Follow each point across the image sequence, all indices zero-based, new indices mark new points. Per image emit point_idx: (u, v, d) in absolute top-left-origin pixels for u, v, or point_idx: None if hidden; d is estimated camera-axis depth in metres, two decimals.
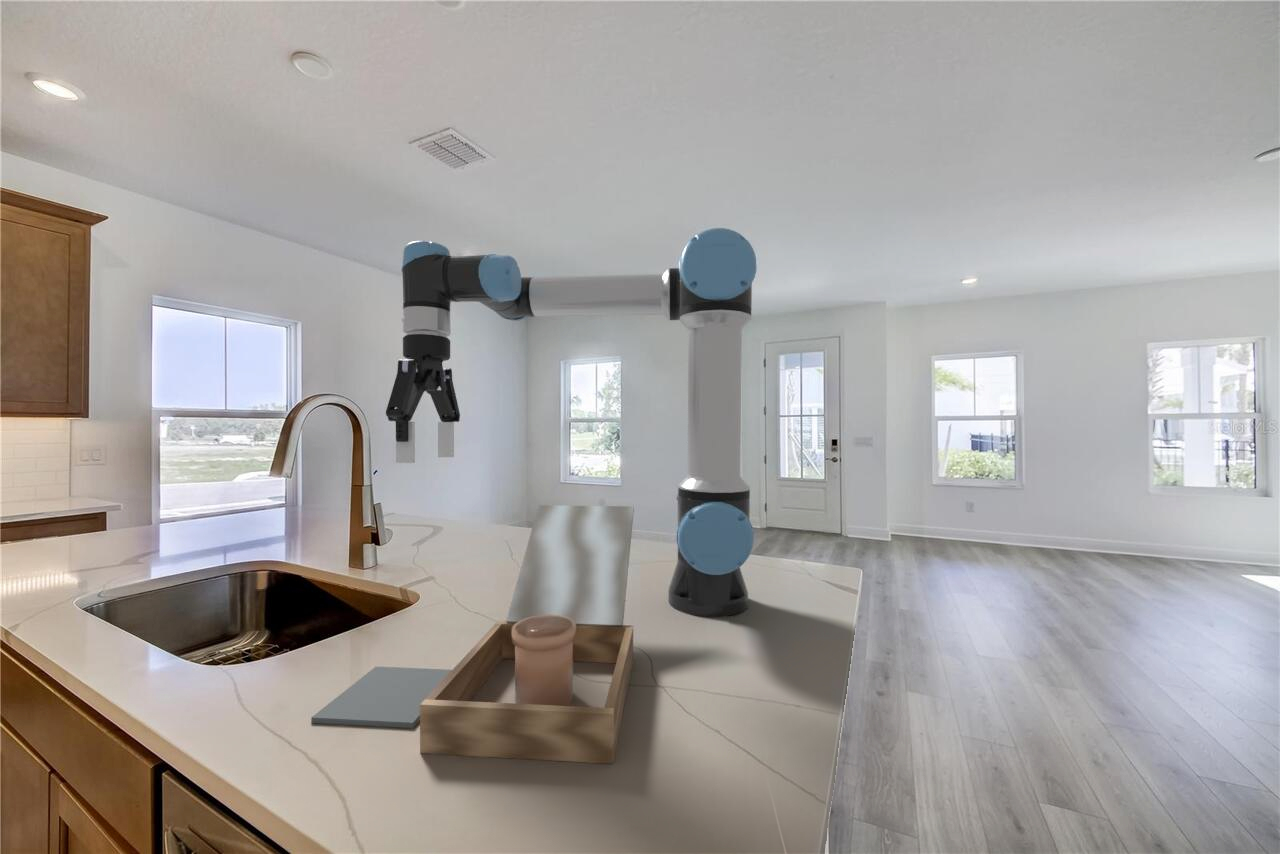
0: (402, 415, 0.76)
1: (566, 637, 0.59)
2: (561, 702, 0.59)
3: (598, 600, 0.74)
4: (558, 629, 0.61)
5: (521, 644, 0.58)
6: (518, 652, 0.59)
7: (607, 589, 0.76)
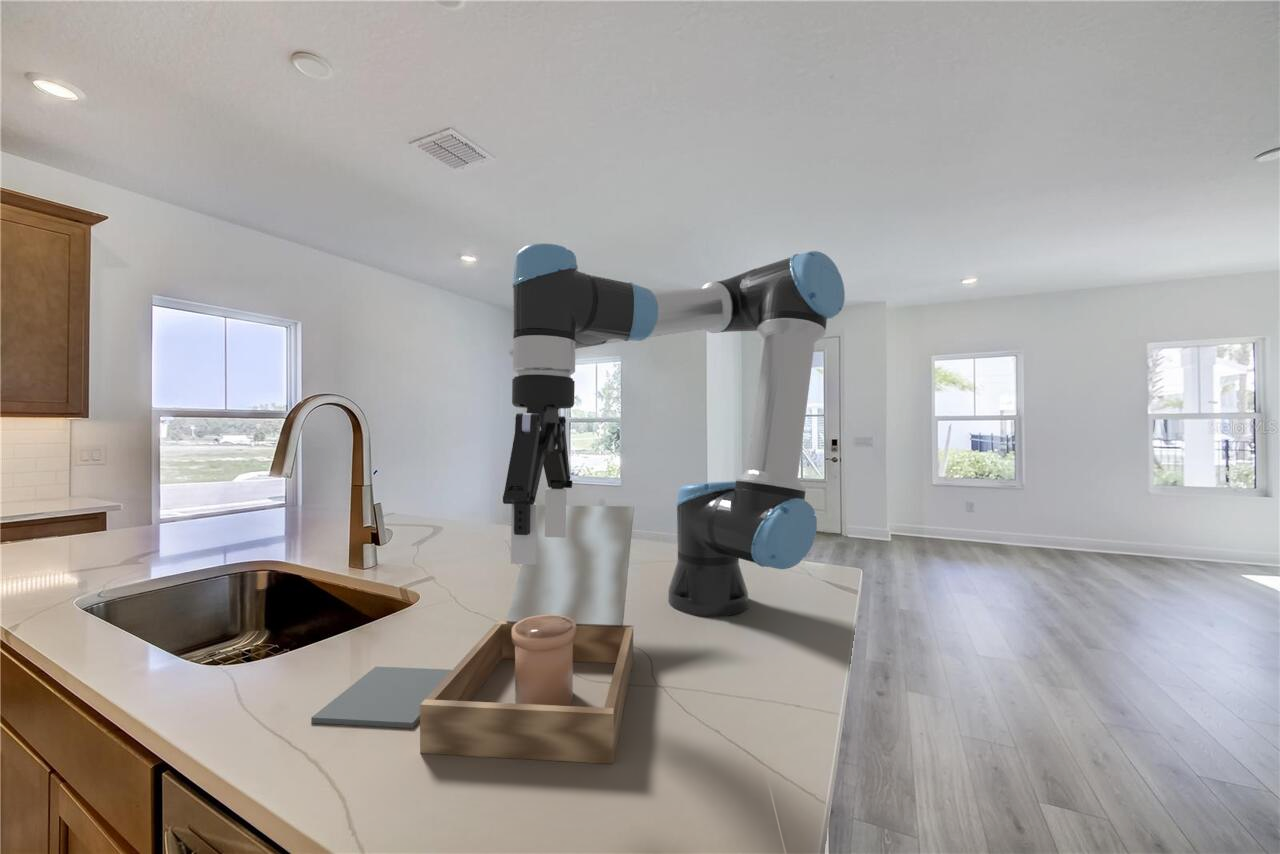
0: (527, 499, 0.52)
1: (566, 637, 0.59)
2: (561, 702, 0.59)
3: (598, 600, 0.74)
4: (558, 629, 0.61)
5: (521, 644, 0.58)
6: (518, 652, 0.59)
7: (607, 589, 0.76)
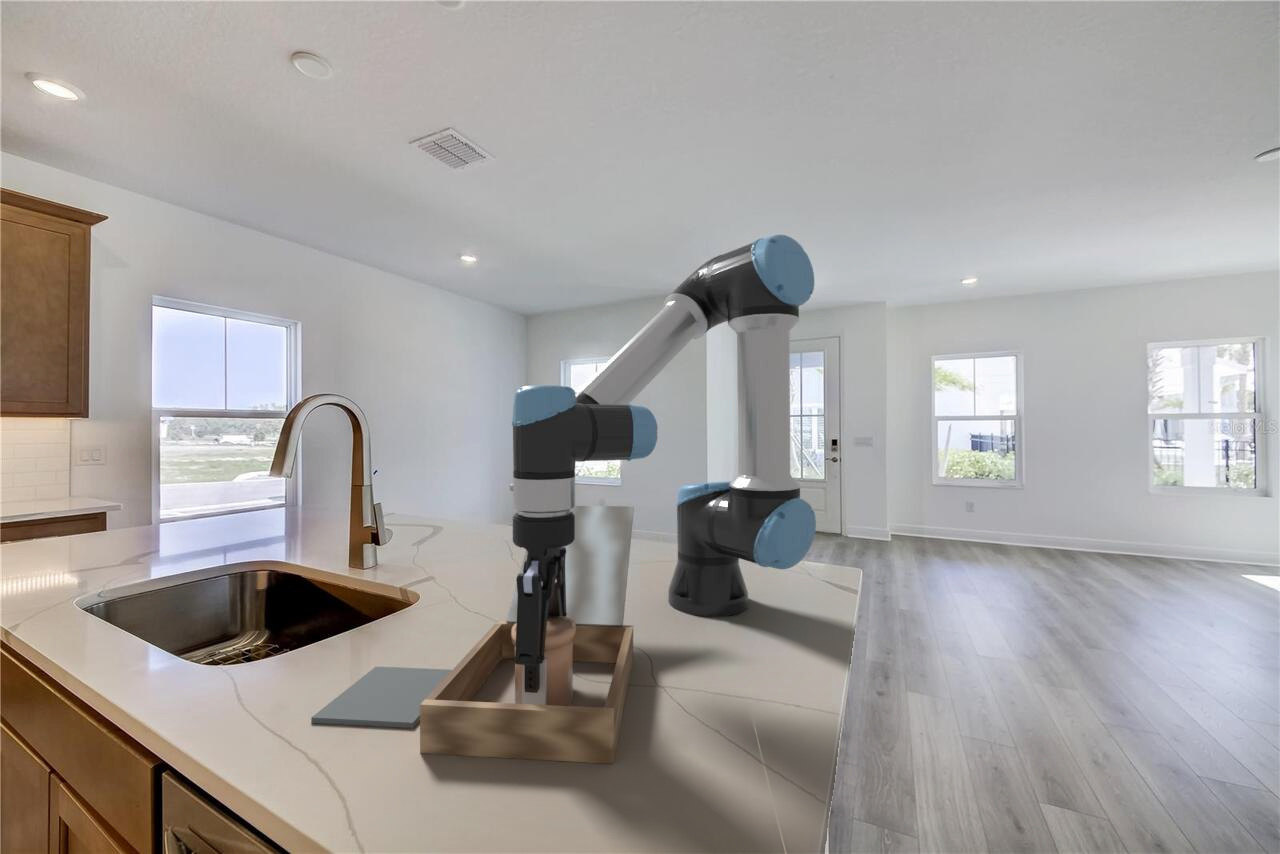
0: (538, 663, 0.55)
1: (566, 637, 0.59)
2: (561, 703, 0.59)
3: (598, 600, 0.74)
4: (558, 629, 0.61)
5: None
6: None
7: (607, 589, 0.76)
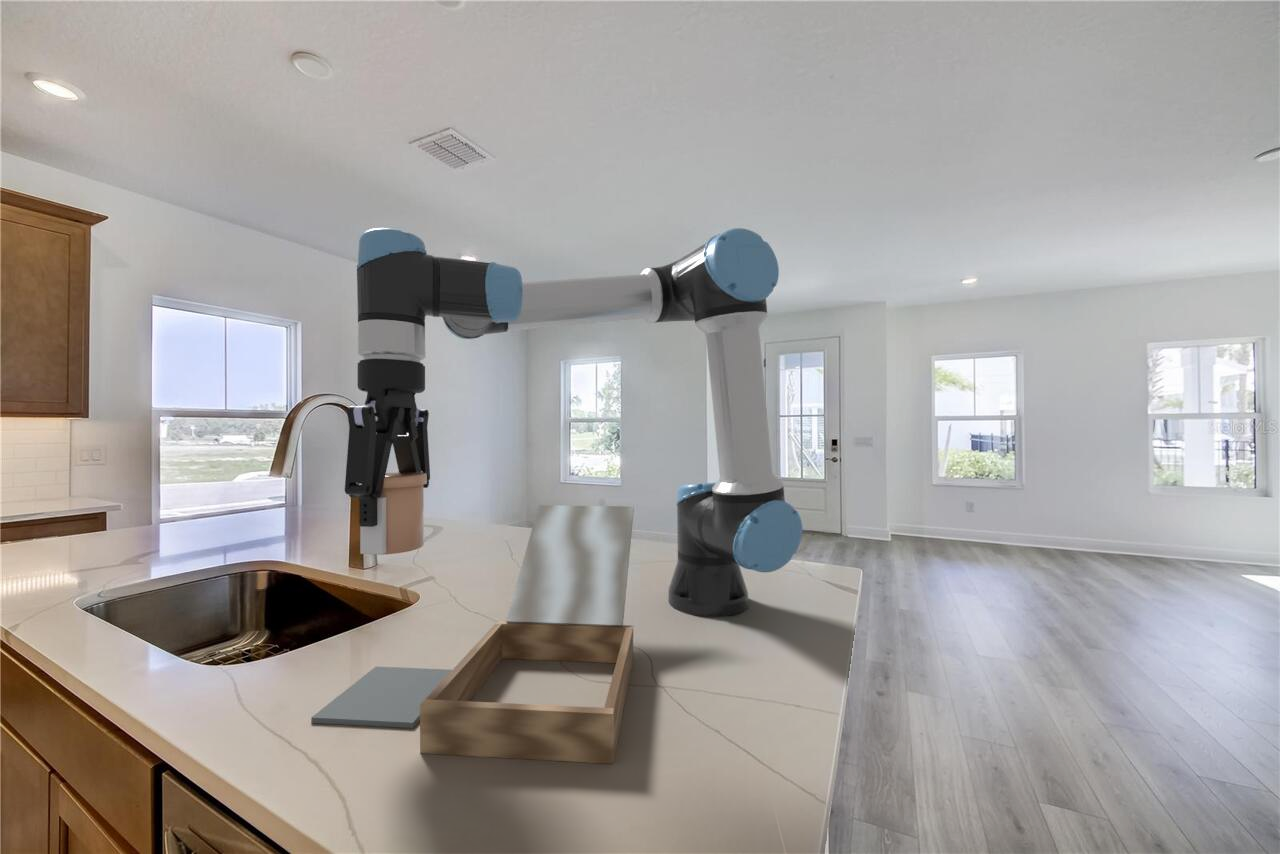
0: (368, 493, 0.55)
1: (408, 479, 0.60)
2: (403, 544, 0.60)
3: (598, 600, 0.74)
4: (404, 475, 0.61)
5: None
6: None
7: (607, 589, 0.76)
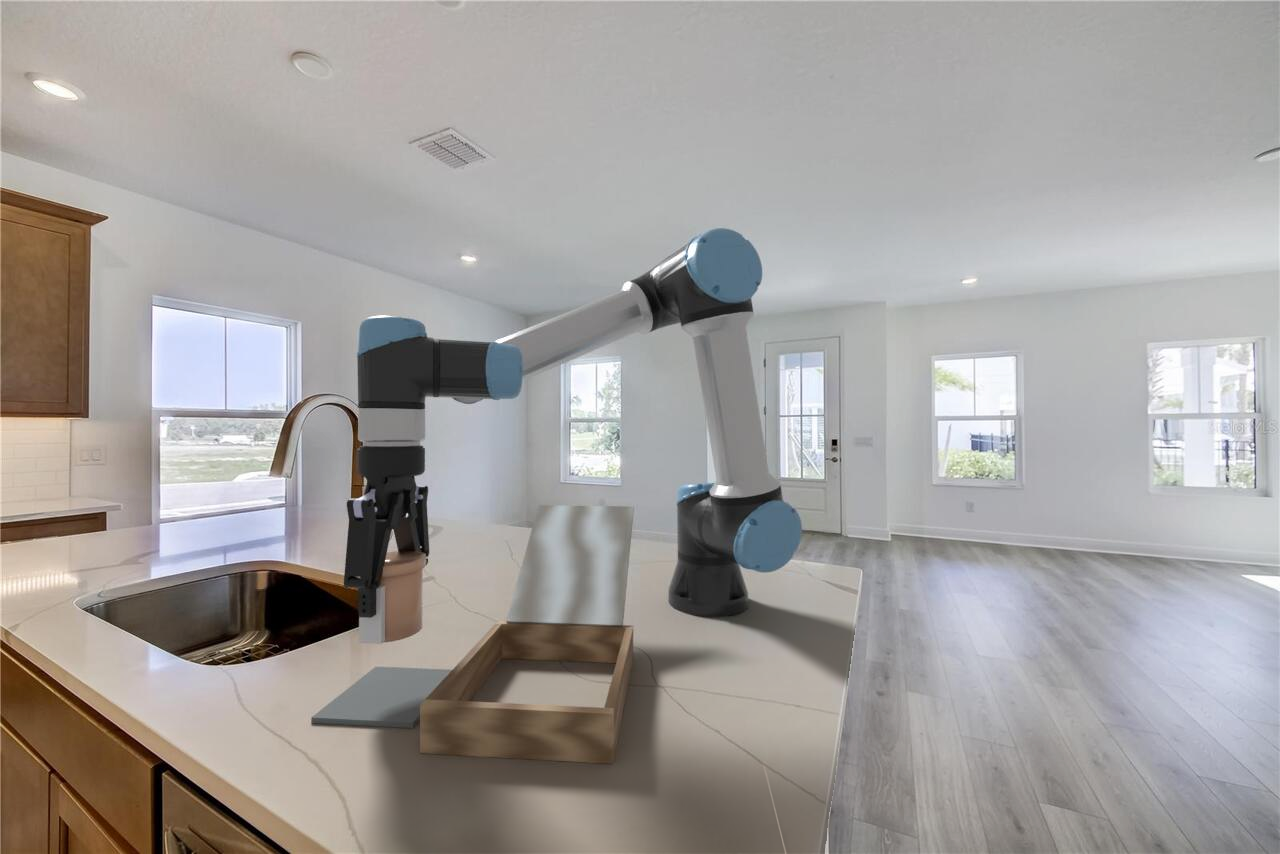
0: (367, 586, 0.55)
1: (407, 566, 0.60)
2: (402, 631, 0.60)
3: (598, 600, 0.74)
4: (403, 560, 0.61)
5: None
6: None
7: (607, 589, 0.76)
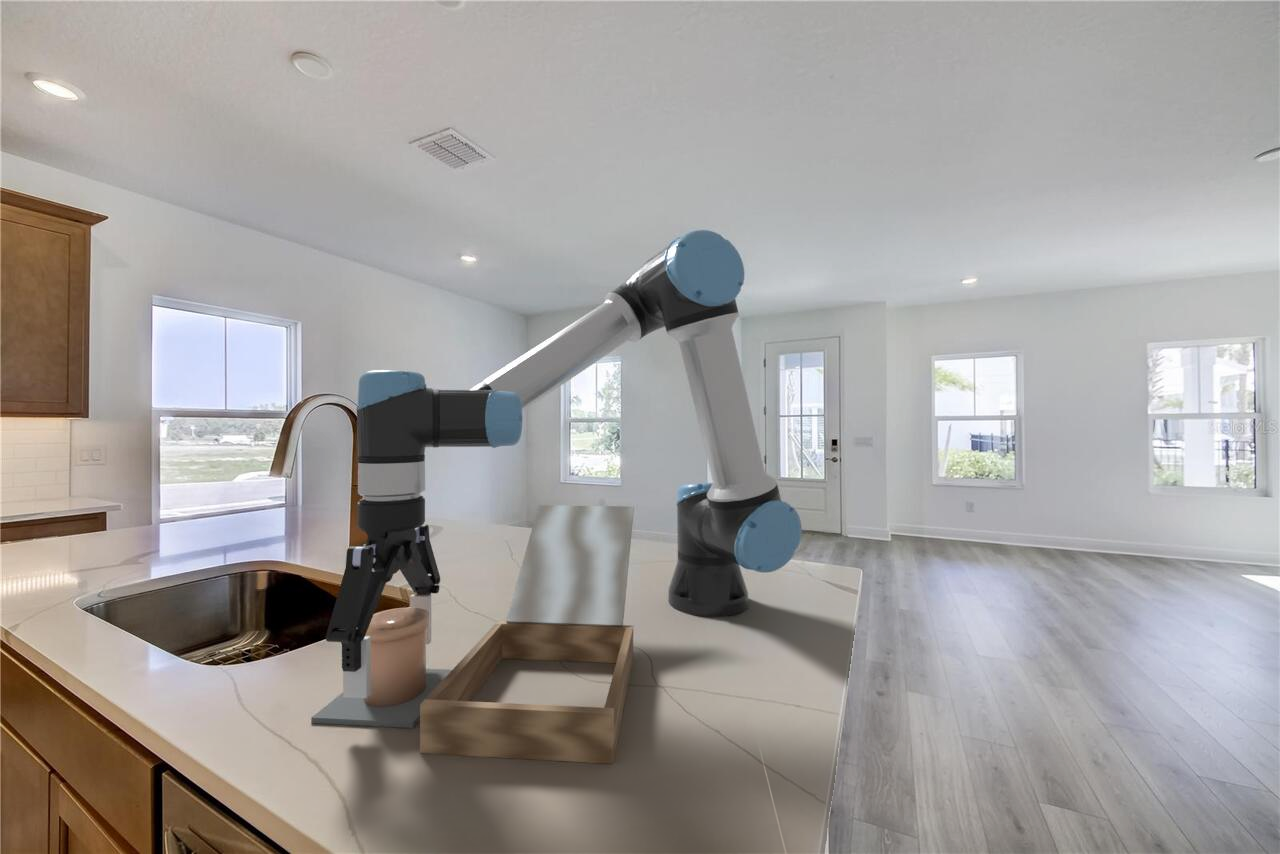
0: (350, 640, 0.52)
1: (411, 629, 0.60)
2: (406, 693, 0.60)
3: (598, 600, 0.74)
4: (407, 621, 0.61)
5: None
6: None
7: (607, 589, 0.76)
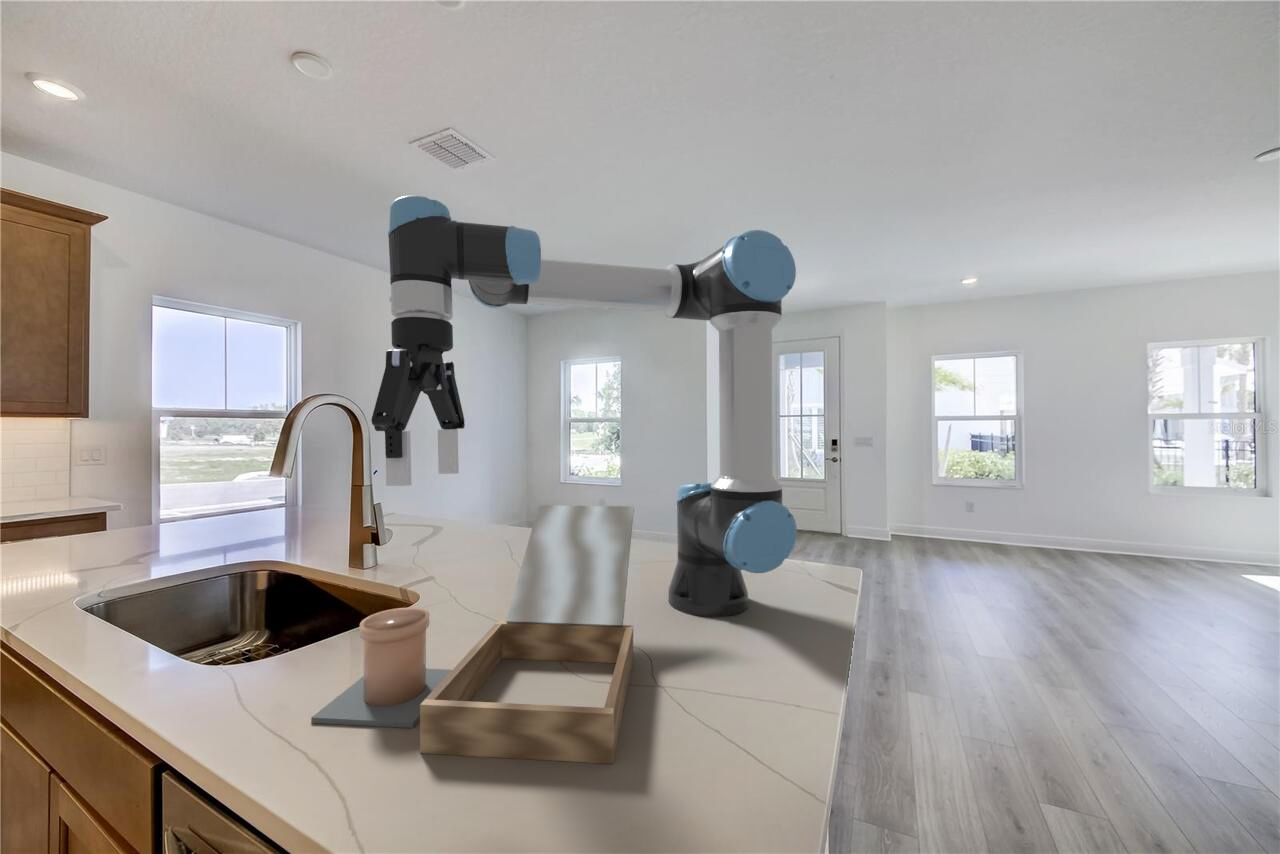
0: (394, 423, 0.57)
1: (411, 629, 0.60)
2: (406, 694, 0.60)
3: (598, 600, 0.74)
4: (407, 621, 0.61)
5: (364, 636, 0.59)
6: (364, 644, 0.60)
7: (607, 589, 0.76)
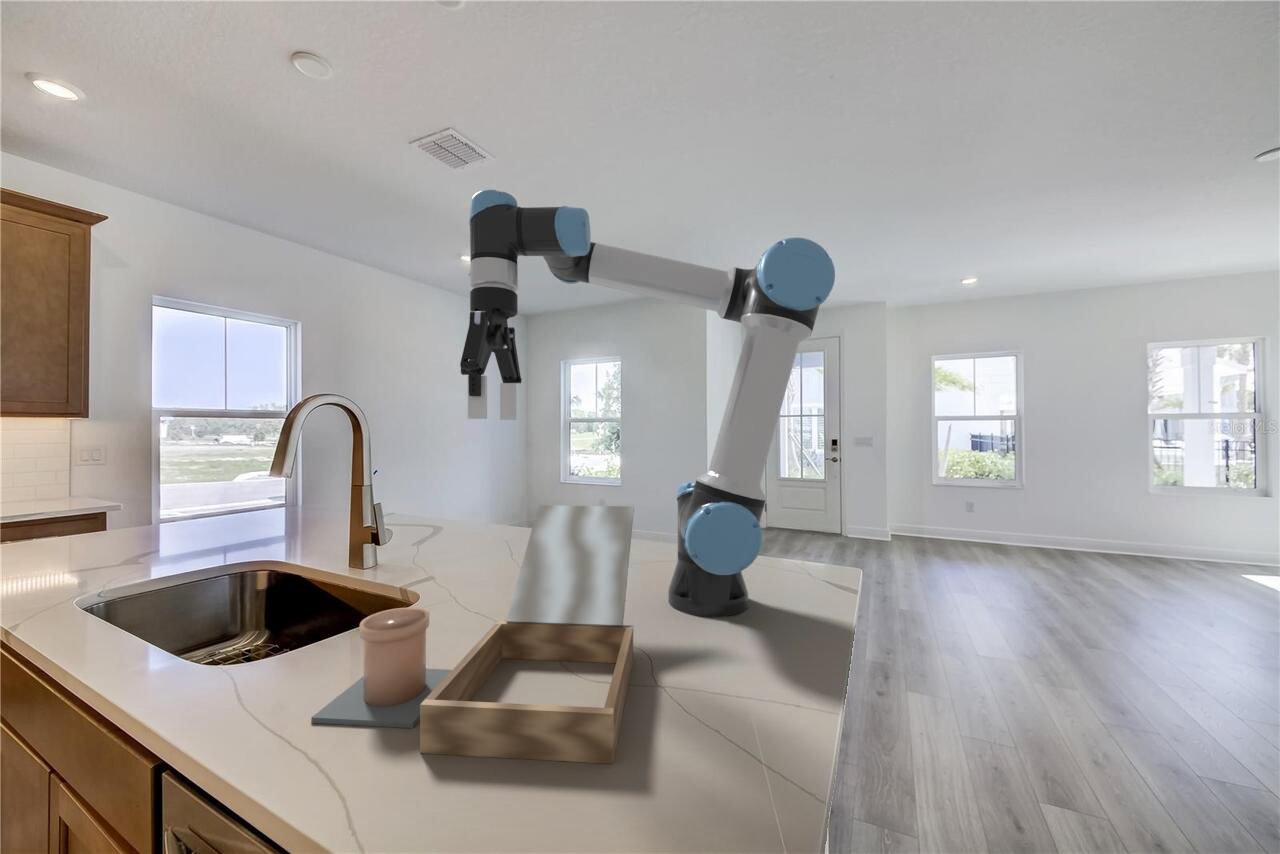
0: (477, 367, 0.73)
1: (411, 629, 0.60)
2: (406, 694, 0.60)
3: (598, 600, 0.74)
4: (407, 621, 0.61)
5: (364, 636, 0.59)
6: (364, 644, 0.60)
7: (607, 589, 0.76)
